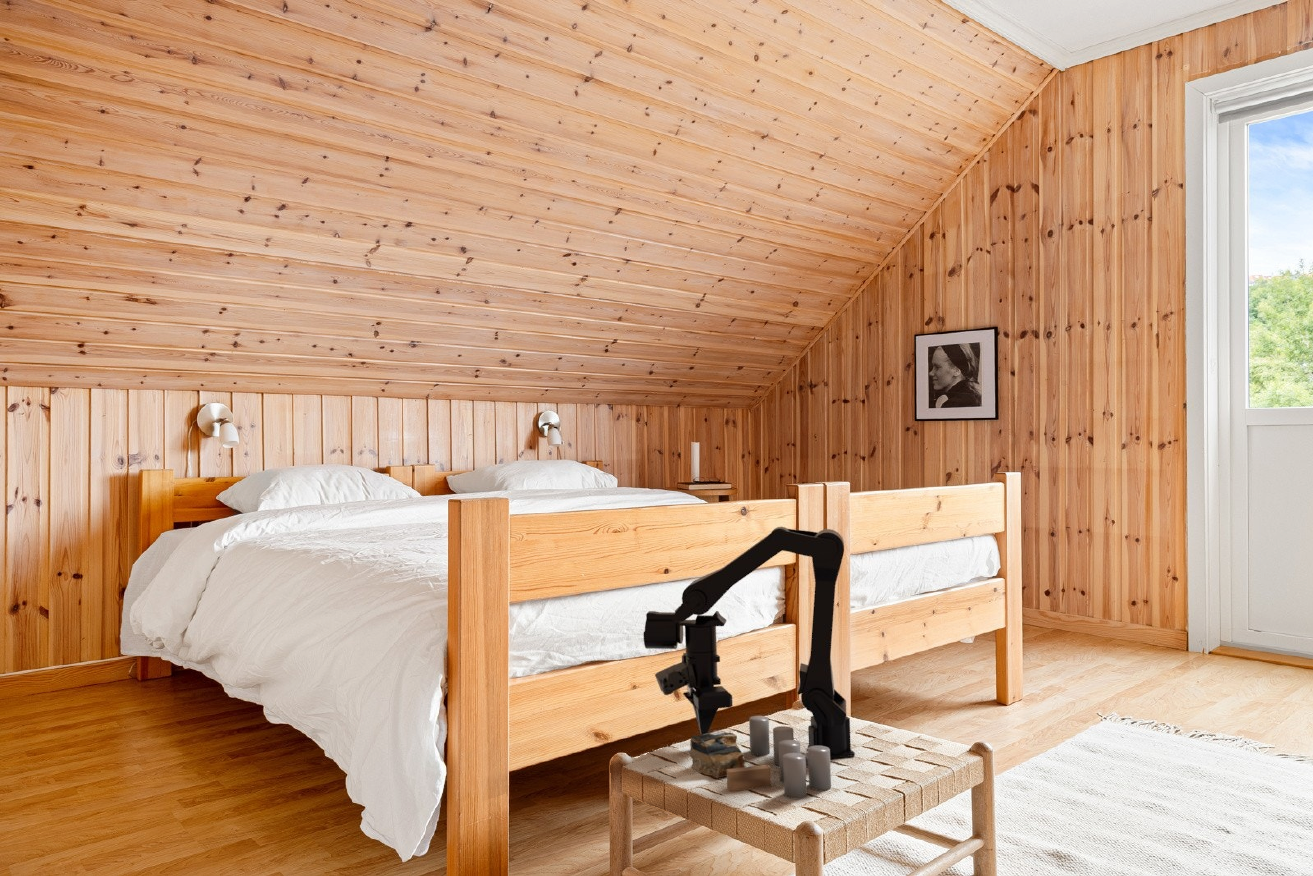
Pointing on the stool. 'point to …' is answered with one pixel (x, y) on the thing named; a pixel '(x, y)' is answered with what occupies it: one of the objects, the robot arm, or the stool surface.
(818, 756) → the spacers
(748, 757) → the stool surface
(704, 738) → the rock
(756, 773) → the bar
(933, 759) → the stool surface
